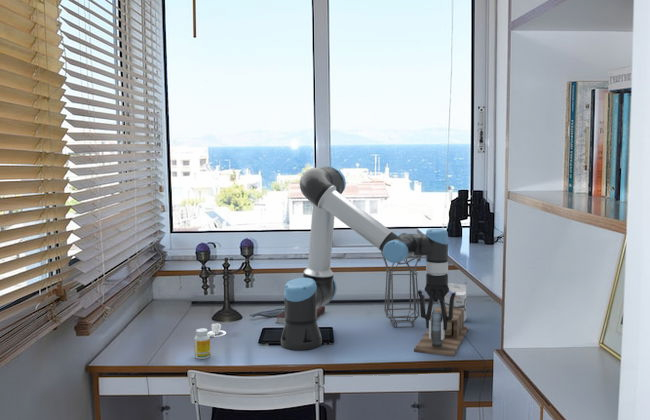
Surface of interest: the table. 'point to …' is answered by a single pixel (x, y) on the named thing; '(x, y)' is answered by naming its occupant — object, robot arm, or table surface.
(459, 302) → the ink box
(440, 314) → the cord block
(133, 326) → the table surface
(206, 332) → the supplement bottle
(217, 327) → the teacup and saucer
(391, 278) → the geometric lantern
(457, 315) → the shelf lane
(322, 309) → the book
